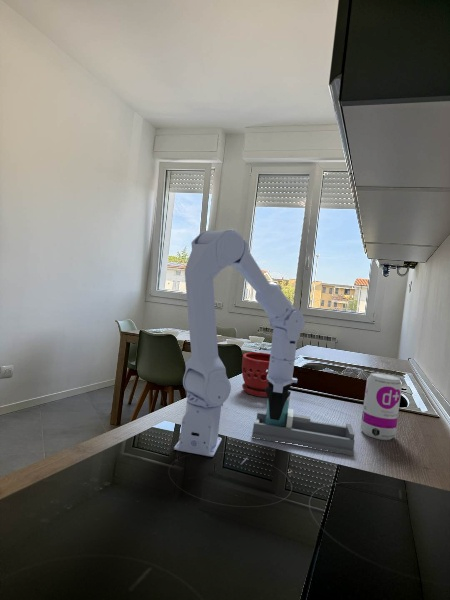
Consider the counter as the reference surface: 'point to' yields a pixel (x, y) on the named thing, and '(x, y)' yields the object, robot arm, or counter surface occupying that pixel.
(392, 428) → the supplement can
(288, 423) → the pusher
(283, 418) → the jar
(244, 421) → the counter surface
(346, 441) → the lane
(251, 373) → the plant pot
